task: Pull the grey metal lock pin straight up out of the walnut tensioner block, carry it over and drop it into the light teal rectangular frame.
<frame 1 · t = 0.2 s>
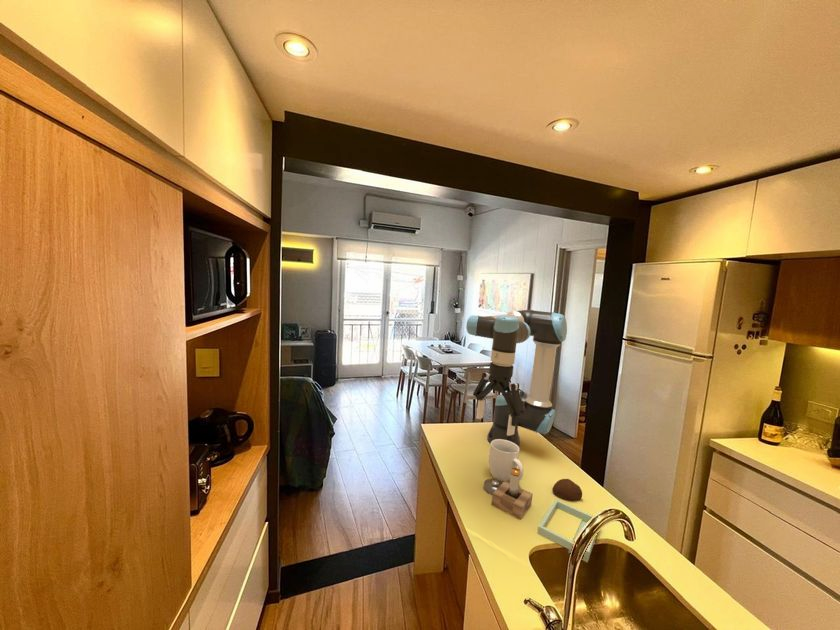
hand: (494, 426, 111), 27 cm above the counter, fingers open, 13 cm apart
light teal rectangular frame: (569, 532, 104), on the counter
potato: (566, 499, 121), on the counter
tensioner block: (511, 507, 113), on the counter
pin: (511, 504, 113), point 1 cm above the counter, touching tensioner block
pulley: (494, 491, 121), on the counter
mug: (503, 479, 129), on the counter
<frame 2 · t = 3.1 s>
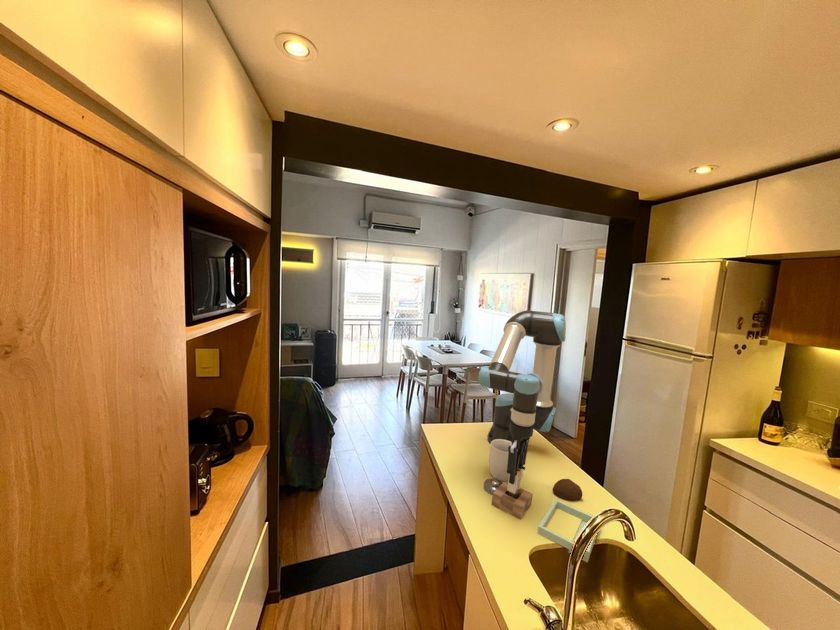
hand: (513, 489, 112), 7 cm above the counter, fingers closed on pin, 3 cm apart
pin: (511, 504, 113), point 1 cm above the counter, touching gripper, tensioner block
everything else where it was.
when the fingers open (8 cm above the counter, at t = 9.3 s): pin drops 1 cm, resting on light teal rectangular frame.
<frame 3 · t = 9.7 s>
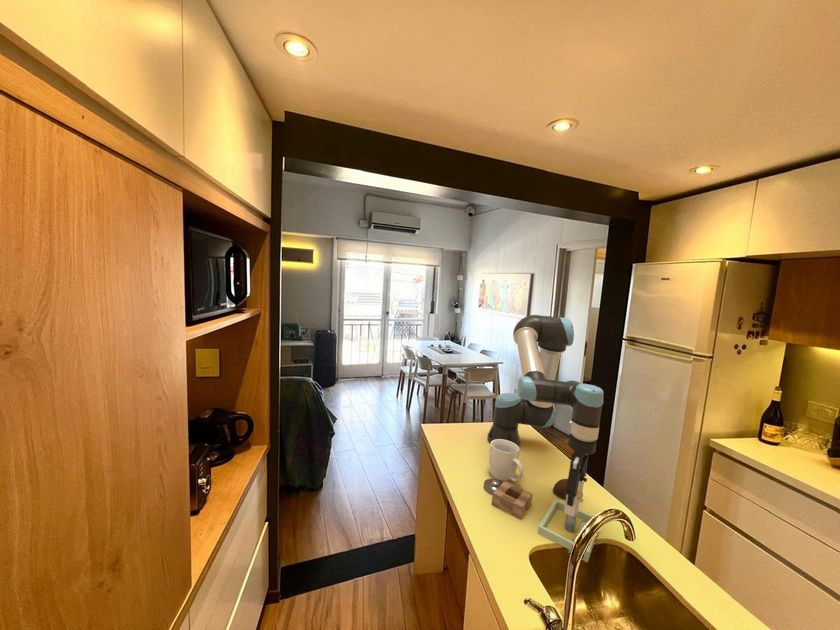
hand: (572, 506, 103), 8 cm above the counter, fingers open, 8 cm apart
pin: (569, 529, 104), point 1 cm above the counter, touching light teal rectangular frame
everything else where it was.
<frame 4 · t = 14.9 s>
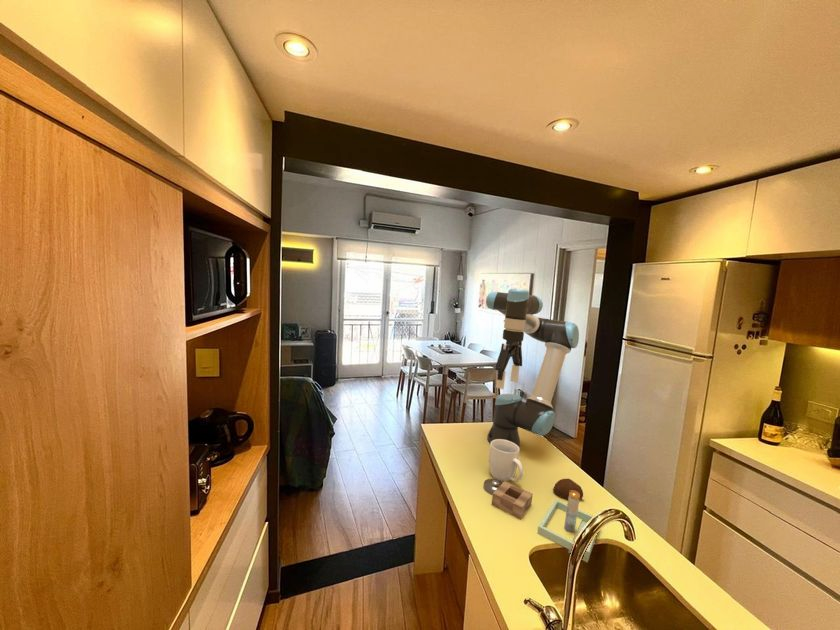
hand: (507, 384, 128), 37 cm above the counter, fingers open, 13 cm apart
nothing on the counter moved.
at the end: pin inside the target area on the light teal rectangular frame (0.0 cm from its centre), point 0.6 cm above the light teal rectangular frame's base; the gripper is holding nothing; pin touching light teal rectangular frame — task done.
